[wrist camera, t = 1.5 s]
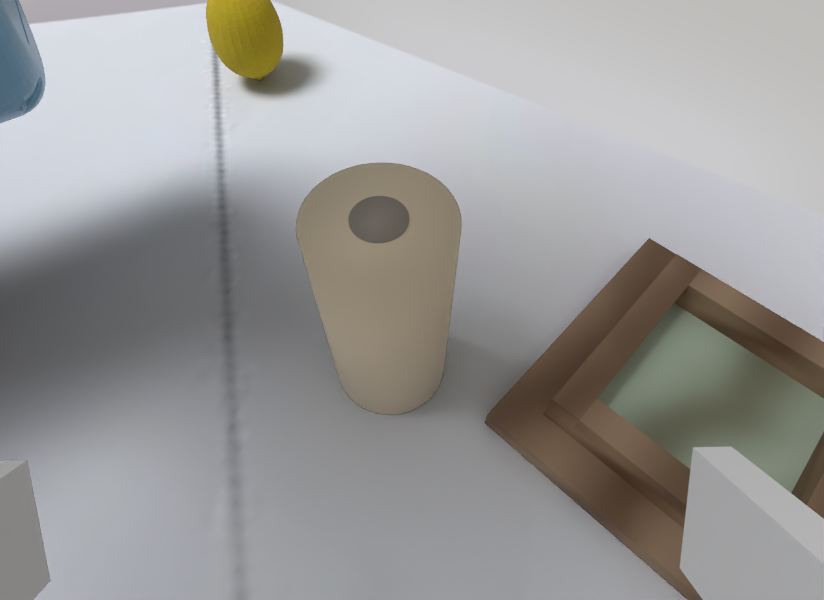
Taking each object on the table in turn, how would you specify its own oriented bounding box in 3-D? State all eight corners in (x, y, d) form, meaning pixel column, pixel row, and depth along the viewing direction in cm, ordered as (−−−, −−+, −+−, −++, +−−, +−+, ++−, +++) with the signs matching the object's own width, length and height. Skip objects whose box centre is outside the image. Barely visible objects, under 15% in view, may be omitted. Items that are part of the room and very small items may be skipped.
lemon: (264, 106, 41) (235, 4, 34) (212, 86, 42) (174, -16, 36) (305, 71, 43) (285, -30, 37) (254, 53, 45) (226, -48, 38)
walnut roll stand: (484, 422, 27) (492, 400, 24) (641, 250, 33) (662, 216, 30) (789, 688, 20) (846, 697, 18) (911, 414, 27) (966, 391, 24)
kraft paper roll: (315, 364, 28) (261, 219, 18) (391, 300, 31) (380, 139, 21) (390, 437, 26) (376, 318, 16) (466, 362, 28) (495, 216, 18)
